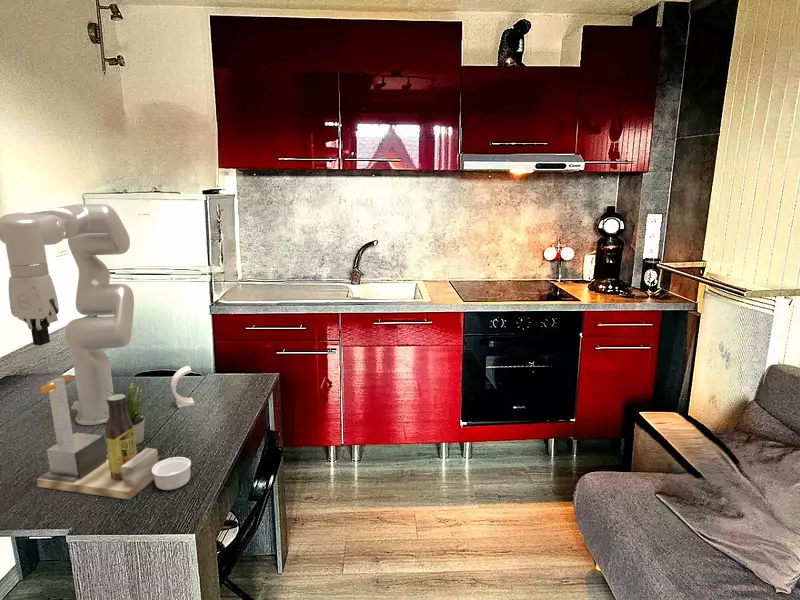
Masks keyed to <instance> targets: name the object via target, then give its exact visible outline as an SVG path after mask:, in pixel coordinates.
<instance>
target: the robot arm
mask: <svg viewBox="0 0 800 600" xmlns="http://www.w3.org/2000/svg"><path fill="white" fill-rule="evenodd" d="M66 239H67V245H68V248H69V251H70V252H71V255H72V257H73V259H74V262H75V264H76V266H77V270H78V279H77V288H76V295H75V309H76V312H78V313H79V314H81V315H82V316H83V315H84V316H85V317H79V318H74V319H73V320H70V321H69V322H68V323H67V324H66V326H65V328H64V329H65V330H64V336H65V339H66V343H67V345H68V348H69V352H70V354H71V358H72V365H73V369H74V376H75V383H76V390H77V397H78V400H74V402H73V405H71V407H70V409H71V410H72V411H77V414H76V415H75V422H76V423H77V424H79V425H80V426H81V425H82V426H97V425H101V424H105V423H107V420H108V418H109V417H110V416H109V415H108V414H109V413H106V414H105V413H104V412H107V411H109V405H108V404H107V401H100V400H107V398H108V397H110V396H112V394H111V393H110V392H113V393H115V392H114V386H113V377H112V371H111V363H110V359H109V356H107V354H106V353H105V352H104V351H103V350H102V349H116V348H117V349H118V348H119V349H120V348H123V347H127V346H128V345H129V344H130V342H131V340H132V339H131V338H132V332H133V321H134V311H135V297H134V292H133V290H132V288H131V287H130V286H129V285H127V284H125V283H110V281H111V271H110V269H109V268H108V267H107V265H106V264H105V263H104V262H103V261H102V260H101V259H100V258H98V256H103V255H104V256H106V255H107V256H110V255H111V256H112V255H113V256H114V255H115V256H116V255H124V254H126V253H127V252H128V250H130V245H131V241H130V240H131V239H130V235H129V232H128V231H127V229H126V227H125V225H124V222H122V219H121V218H120V216H119V214H118V213H117V211H116V210H115V209H114V208H113V207H111V206H110V205H108V204H106V203H97V204H96V203H93V204H91V203H90V204H89V203H88V204H85V203H84V204H80V203H78V204H70V205H65V206H59V207H53V208H44V209H38V210H37V209H36V210H29V211H28V210H27V211H20V212H14V213H8V214H4V215H2V216H1V217H0V241H1V242H2V243H3V244H4V245H5V249H6V254H7V260H8V265H9V266H8V268H9V272H10V276H9V278H8V301H9V307H10V313H11V315H12V316H13V317H15V318H17V319H18V320H20V321H23V322H24V323H26V324H27V327H28V329H29V330H30V333H31V336H32V337H31V338H32V342H33V343H32V344H33V346H38V347H39V346H40V347H41V346H42V345H47V344H49V343H50V341H51V339H50V333H49V332H50V331H49V327H50V326H51V325H50V324H51V323H55V322H58V321H59V319H58V316H57V314H59V311H60V309H59V308H60V307H59V301H58V296H57V293H56V288H55V284H54V282H53V279H52V277H51V275H50V271H49V267H48V261H47V253H46V248H45V246H46V245H47V246H48V245H50V246H51V245H56V244H59V243H61V242H62V241H63V240H66ZM86 316H88V317H86ZM89 316H90V317H89ZM104 390H105V391H104ZM107 391H110V392H107ZM104 402H106V403H104ZM101 413H102V414H101Z"/></svg>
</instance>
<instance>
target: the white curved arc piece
mask: <svg viewBox="0 0 800 600" xmlns="http://www.w3.org/2000/svg"><path fill="white" fill-rule="evenodd" d="M190 373H192V368H191V367H190V365H186V366H183V367H181V368H179V369H178V370H177V371H175V373H174V374H173V376H172V378H171V382H170V389H171V391H172V393H173V395H174V398H175V399H176V400H175V403H176V406H177V408H178V409H180V408H184V407H185V408H186V407H189V406H190V407H191V406H195V405H196V403H195V401H194V399H193V397H191V396H190V397H185V396H181V395H180V394H178V393H177V384H178V383H179V381H180V379H182V378H183V377H184V376H185V375H187V374H190Z"/></svg>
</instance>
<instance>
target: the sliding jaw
mask: <svg viewBox="0 0 800 600" xmlns="http://www.w3.org/2000/svg"><path fill="white" fill-rule="evenodd" d="M72 382H74V378H73V376H72V375H71V374H66V375H64V376H62V377H56V378H54V379H52V380H49V381H47V382H46V384H44V385H42V386H39V388H38V392H39V393H40V394H41V395H42V396H43V395H47V394H48V397H49V401H50V402H49V403H50V409H51V413H52V414H51V415H52V421H53V429H54V434H55V440H56V444H54V445H52V446H50V447H49V448H48V449H46V452H47V458H48V459H47V460H48V465H49V471H51V474H53V475H60V476H68V477H75V478H79V479H80V478H82V477H83V476H85V475H86V474H88V473H89V472H90V471H92V470H93V469H95V468H96V467H98V466H99V465H101V464H102V463H103V462H105V461H106V460H107V455H108V453H107V446H106V439H105V435H101V434H91V433H82V432H75V433H73V427H72V420H71V414H70V413H71V412H70V408H69V407H70V406H69V400H68V393H67V387H66V385H68V384H70V383H72Z"/></svg>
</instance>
